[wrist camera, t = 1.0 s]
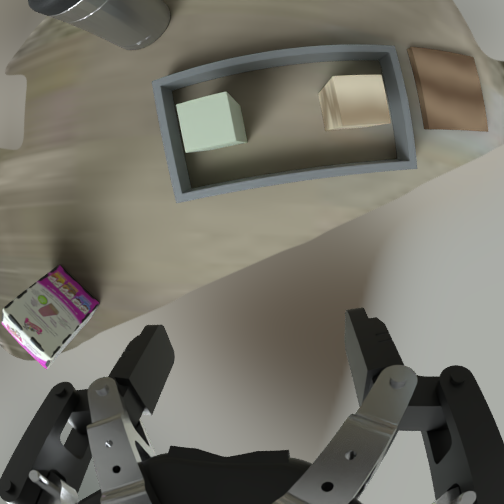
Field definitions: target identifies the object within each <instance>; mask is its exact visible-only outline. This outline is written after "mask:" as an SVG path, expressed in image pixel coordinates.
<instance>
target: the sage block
mask: <svg viewBox="0 0 504 504" xmlns="http://www.w3.org/2000/svg"><path fill="white" fill-rule="evenodd" d="M176 107H177V112H178V117H179V122H180V128H181V133H182V138H183V143H184V147H185V152H186V153H187V152H197V151H208V150H213V149H218V148H223V147H227V146H232V145H237V144H242V143H247V137H246V132H245V127H244V122H243V117H242V112H241V107H240V105H239V104H238V103H237V102H236V101H235V100H234V99H233V98H232V97H231V96H230V95H229V94H228V93H227V92H222V93H217V94H213V95H209V96H205V97H201V98H198V99H194V100H190V101H187V102H183V103H180V104H177V105H176Z"/></svg>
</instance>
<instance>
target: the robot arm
mask: <svg viewBox="0 0 504 504" xmlns="http://www.w3.org/2000/svg"><path fill="white" fill-rule="evenodd" d="M28 2H29V6H30V8H32V9H33V10H34V11H36V12H38V13H41V14H44V15H47V16H50V17H53V18H56V19H58V20H61V21H63V22H66V23H69V24H71V25H74V26H76V27H78V28H81V29H83V30H85V31H88V32H90V33H92V34H94V35H96V36H99V37H101V38H103V39H105V40H107V41H109V42H111V43H113V44H115V45H117V46H119V47H121V48H124V49H127V50H136V49H140V48H144V47H146V46H148V45H150V44H151V43H153V42H154V41H156V40H157V39H158V38H159V37H160V36H161V35H162V33H163V32H164V31H165V29H166V28H167V26H168V23H169V20H170V10H169V8H168V6H167V5H166V4H165V3H164V2H163V1H162V0H28ZM345 349H346V354H347V357H348V361H349V365H350V369H351V373H352V377H353V381H354V385H355V389H356V394H357V398H358V402H359V406H360V408H359V409H358V411H357V412H356V414H351V415H350V416H349V417H348V418H347V419H346V421H345V422H344V423H343V425H342V426H341V428H340V429H339V431H338V432H337V433H336V435H335V436H334V437H333V439H332V440H331V441H330V443H329V444H328V445H327V447H326V448H325V449H324V450H323V451H322V453H321V454H320V455H319V456H318V458H317V459H316V460H315V461H314V463H313V464H311V463H309V462H306V461H304V460H300V459H296V458H290V455H289V450H281V451H256V452H252V453H247V454H242V455H236V456H230V457H222V456H219V455H216V454H212V453H209V452H206V451H202V450H199V449H195V448H184V447H177V446H170V449H169V452H168V453H165V454H160V455H157V454H156V453H155V451H154V449H153V447H152V444H151V442H150V440H149V437H148V435H147V433H146V430H145V428H144V425H143V423H142V421H141V419H140V417H141V415H142V414H145V415H152V414H153V411H154V409H155V406H156V404H157V402H158V399H159V397H160V394H161V392H162V389H163V387H164V385H165V382H166V380H167V377H168V375H169V373H170V371H171V368H172V366H173V363H174V350H173V348H172V345H171V343H170V340H169V338H168V335H167V333H166V330H165V328H164V326H163V325H147V326H145V328H144V329H143V331H142V332H141V334H140V335H139V336H137V337H135V338H134V339H133V340H132V341H131V342H130V343H129V345H128V346H127V347H126V349H125V351H124V352H123V354H122V356H121V357H120V358H119V360H118V362H117V363H116V365H115V366H114V368H113V370H112V371H111V373H110V375H109V376H108V377H103V378H99V379H97V380H95V381H94V382H93V383H92V384H91V385H90V386H89V388H88V389H85V390H75V388H74V387H73V385H72V384H71V383H69V382H62V383H59V384H57V385H56V386H54V387H53V388H52V389H51V391H50V392H49V394H48V395H47V397H46V399H45V400H44V402H43V403H42V405H41V407H40V408H39V410H38V411H37V413H36V415H35V416H34V418H33V420H32V421H31V423H30V425H29V426H28V428H27V430H26V432H25V433H24V435H23V437H22V439H21V440H20V442H19V444H18V446H17V448H16V449H15V451H14V453H13V455H12V457H11V459H10V461H9V463H8V464H7V466H6V469H5V471H4V472H3V474H2V477H1V479H0V496H1V498H2V499H3V500H5V501H6V502H7V503H9V504H362V503H361V502H359V501H358V498H359V497H360V495H361V494H362V492H363V491H364V490H365V488H366V486H367V485H368V484H369V482H370V480H371V479H372V477H373V476H374V474H375V472H376V470H377V469H378V467H379V465H380V464H381V462H382V460H383V458H384V457H385V455H386V453H387V451H388V450H389V448H390V446H391V444H392V442H393V440H394V439H395V437H396V434H397V433H398V431H399V430H402V431H421V433H422V436H423V441H424V445H425V449H426V453H427V457H428V461H429V466H430V470H431V476H432V481H433V487H434V492H435V498H436V501H435V502H433V503H432V504H504V443H503V440H502V438H501V435H500V432H499V430H498V427H497V425H496V423H495V420H494V418H493V416H492V413H491V411H490V409H489V407H488V404H487V402H486V400H485V399H484V396H483V394H482V392H481V390H480V388H479V386H478V384H477V382H476V380H475V378H474V376H473V374H472V373H471V372H470V370H468V369H467V368H465V367H463V366H456V365H455V366H450V367H447V368H446V369H444V370H443V371H442V373H441V374H440V377H424V376H418V375H416V373H415V372H414V371H413V370H412V369H411V368H409V367H407V366H404V364H403V362H402V359H401V357H400V355H399V353H398V351H397V349H396V346H395V344H394V342H393V341H392V338H391V336H390V334H389V332H388V330H387V328H386V326H385V324H384V323H383V322H382V321H380V320H379V319H378V318H369V319H368V316H367V314H366V312H365V310H364V308H356V309H350V310H346V313H345ZM67 421H68V422H69V423H70V425H71V426H72V427H73V428H72V430H71V432H70V434H69V436H68V438H67V440H66V442H65V444H64V446H63V445H62V443H61V441H60V434H61V432H62V430H63V428H64V427H65V425H66V423H67ZM92 457H93V462H94V466H95V470H96V474H97V478H98V481H99V485H100V488H101V489H100V490H98V491H96V492H95V493H93V494H91V495H89V496H88V497H86V498H84V499H82V500H81V501H78V491H79V488H80V486H81V483H82V480H83V478H84V475H85V473H86V470H87V468H88V465H89V463H90V460H91V458H92Z"/></svg>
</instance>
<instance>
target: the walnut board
mask: <svg viewBox="0 0 504 504" xmlns="http://www.w3.org/2000/svg"><path fill="white" fill-rule="evenodd" d="M407 51H408V55H409V58H410V62H411V66H412V70H413V74H414V78H415V82H416V87H417V91H418V96H419V101H420V107H421V112H422V118H423V125H424V129H447V130H471V131H487V132H488V125H487V118H486V112H485V106H484V100H483V95H482V90H481V85H480V81H479V77H478V73H477V69H476V65H475V61H474V58H473V57H470V56H466V55H461V54H456V53H451V52H446V51H440V50H433V49H426V48H419V47H410V48H409V49H407Z"/></svg>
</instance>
